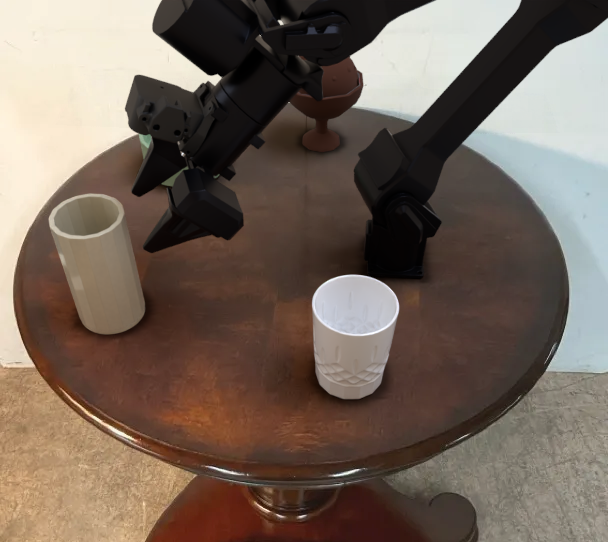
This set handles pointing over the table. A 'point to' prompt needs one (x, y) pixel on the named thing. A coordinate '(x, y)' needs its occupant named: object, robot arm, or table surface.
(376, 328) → the white cup
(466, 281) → the table surface
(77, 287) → the cream cup
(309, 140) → the ice cream bowl
